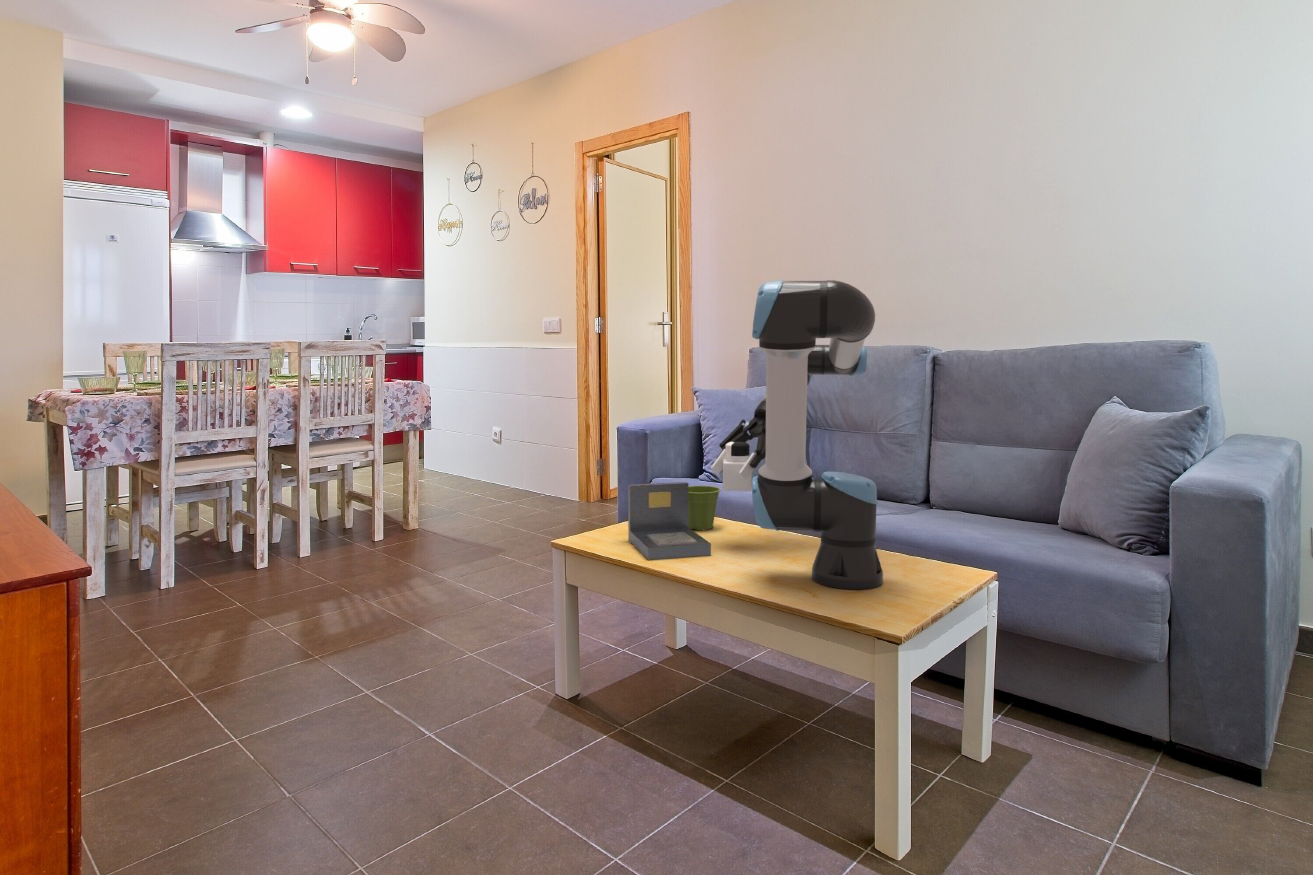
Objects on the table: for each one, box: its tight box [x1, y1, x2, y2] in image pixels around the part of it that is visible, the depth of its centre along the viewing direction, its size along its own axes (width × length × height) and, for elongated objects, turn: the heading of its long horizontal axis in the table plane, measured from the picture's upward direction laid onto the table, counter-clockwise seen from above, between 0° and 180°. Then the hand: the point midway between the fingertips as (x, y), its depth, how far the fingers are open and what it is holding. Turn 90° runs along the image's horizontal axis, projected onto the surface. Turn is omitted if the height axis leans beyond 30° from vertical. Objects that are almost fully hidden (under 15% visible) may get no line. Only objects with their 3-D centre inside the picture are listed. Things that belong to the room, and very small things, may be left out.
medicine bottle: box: [722, 441, 753, 492], centre depth 195 cm, size 7×7×12 cm
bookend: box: [627, 481, 712, 560], centre depth 195 cm, size 20×16×15 cm
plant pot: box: [688, 485, 722, 531], centre depth 218 cm, size 12×12×11 cm
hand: (728, 473), depth 193 cm, fingers closed on medicine bottle, 10 cm apart
